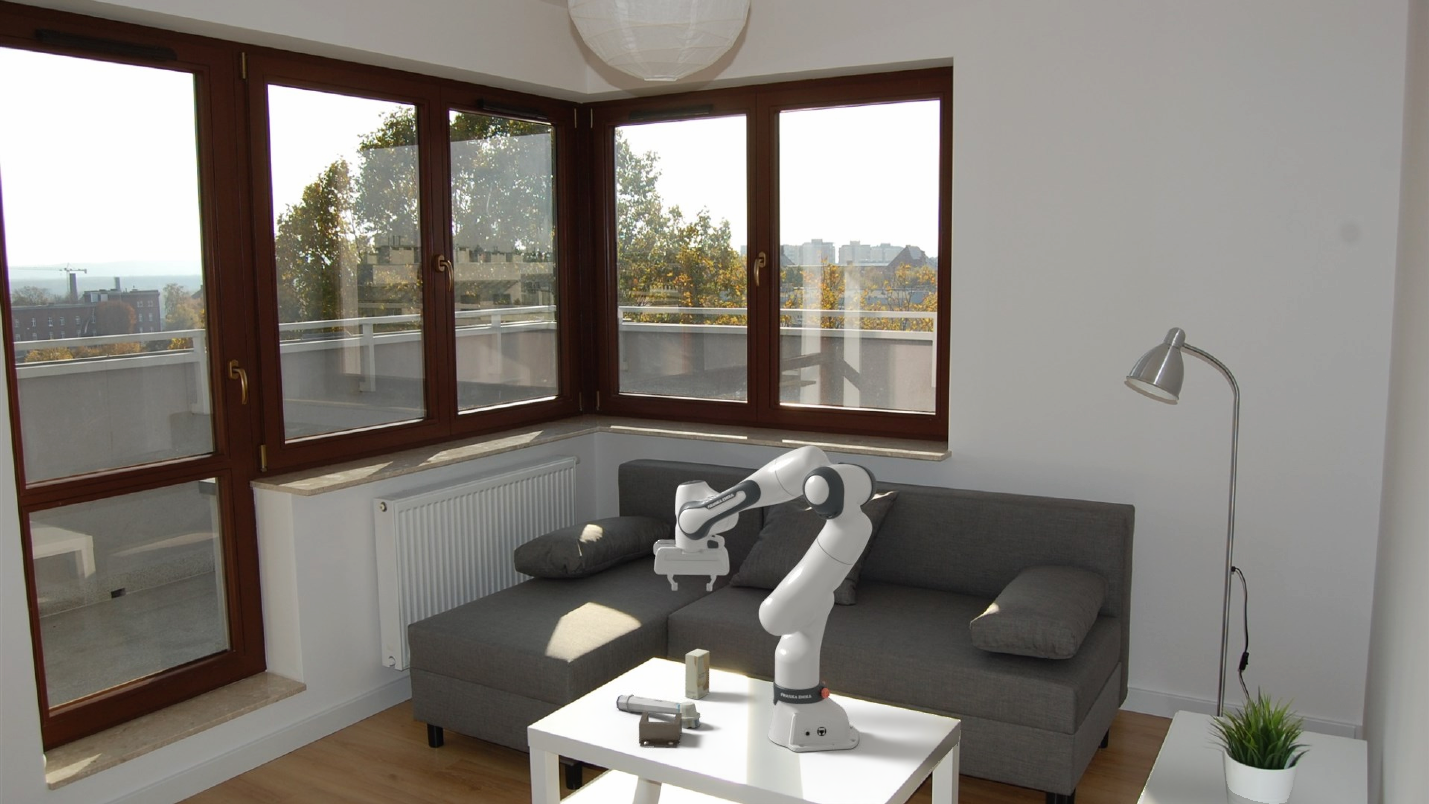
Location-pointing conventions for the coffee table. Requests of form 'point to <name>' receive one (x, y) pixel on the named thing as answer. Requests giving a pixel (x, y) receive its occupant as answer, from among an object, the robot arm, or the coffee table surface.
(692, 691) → the skincare box
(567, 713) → the coffee table surface
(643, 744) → the bracket
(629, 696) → the white handheld device
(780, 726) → the robot arm
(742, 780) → the coffee table surface
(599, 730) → the coffee table surface
